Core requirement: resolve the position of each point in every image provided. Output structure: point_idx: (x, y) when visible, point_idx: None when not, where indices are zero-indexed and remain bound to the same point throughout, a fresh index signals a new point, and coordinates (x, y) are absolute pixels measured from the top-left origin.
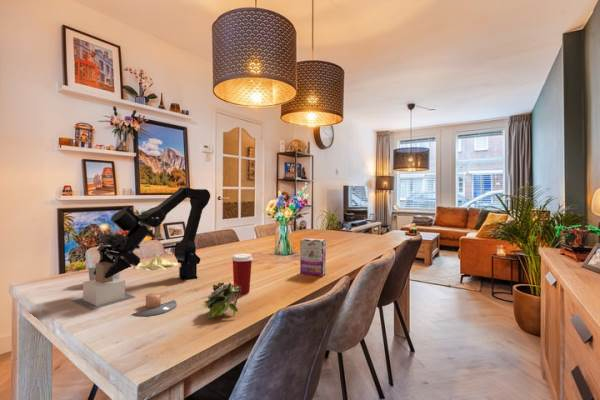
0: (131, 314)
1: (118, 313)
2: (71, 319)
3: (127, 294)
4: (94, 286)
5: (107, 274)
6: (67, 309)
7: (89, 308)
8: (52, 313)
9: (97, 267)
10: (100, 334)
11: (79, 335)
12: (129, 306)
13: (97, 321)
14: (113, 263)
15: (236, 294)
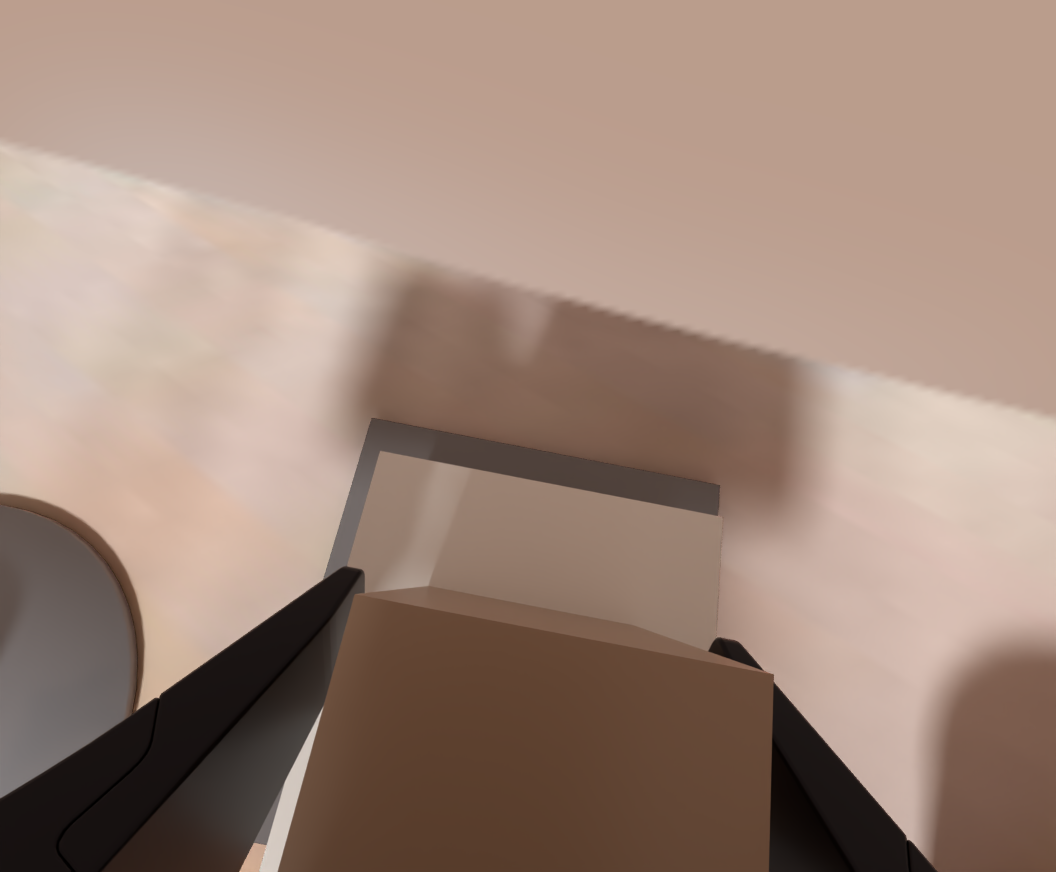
0: (16, 508)
1: (144, 483)
2: (382, 297)
3: None
4: (424, 459)
5: (301, 603)
6: (581, 389)
7: (412, 431)
8: (595, 313)
9: (648, 642)
10: (13, 229)
11: (129, 187)
12: (166, 633)
13: (185, 335)
14: (106, 839)
15: None
